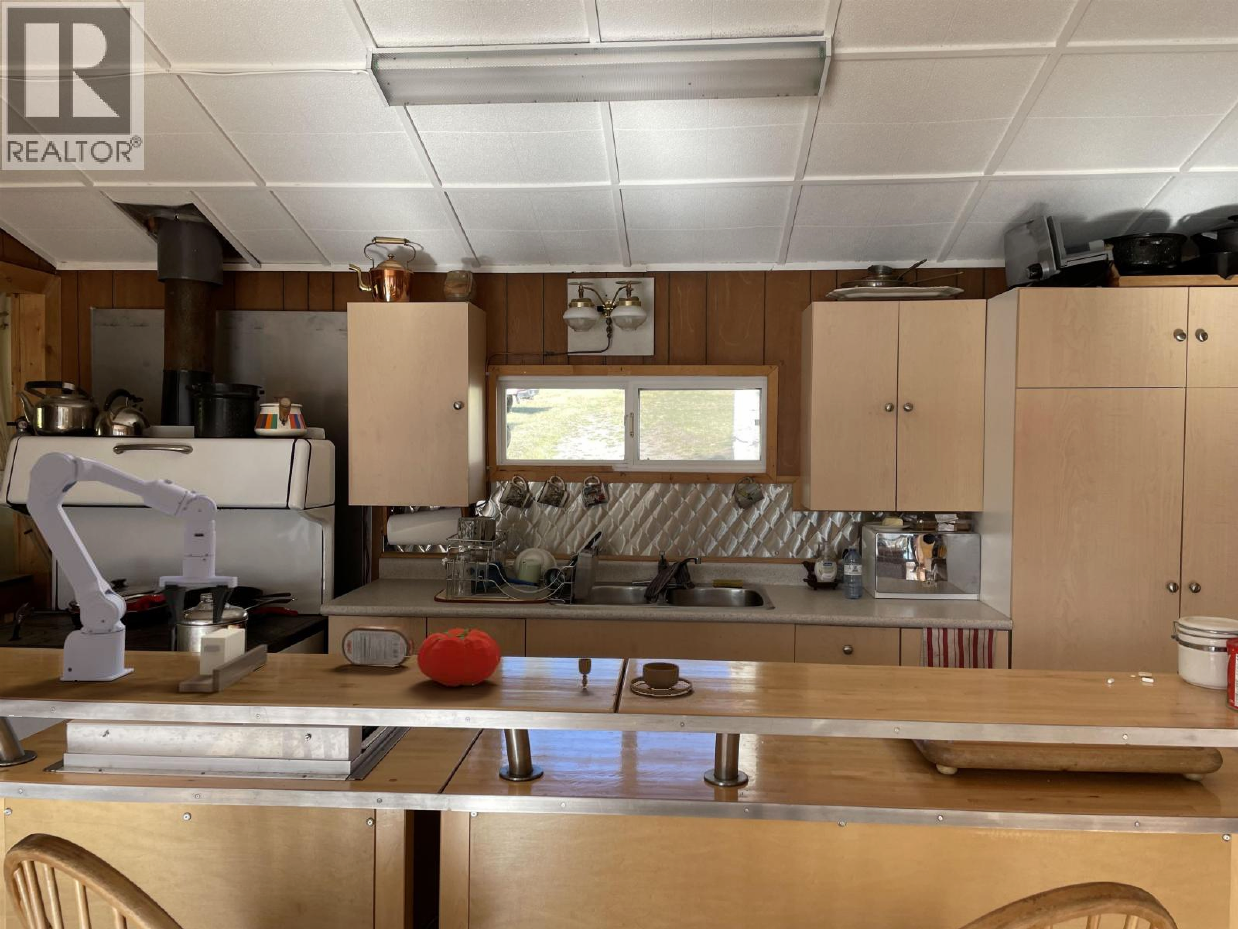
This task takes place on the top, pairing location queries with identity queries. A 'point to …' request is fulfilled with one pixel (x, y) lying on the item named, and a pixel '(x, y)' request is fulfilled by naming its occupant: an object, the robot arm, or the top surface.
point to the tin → (377, 645)
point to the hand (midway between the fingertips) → (197, 622)
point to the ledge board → (226, 672)
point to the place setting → (648, 677)
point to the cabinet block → (220, 648)
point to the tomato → (459, 657)
